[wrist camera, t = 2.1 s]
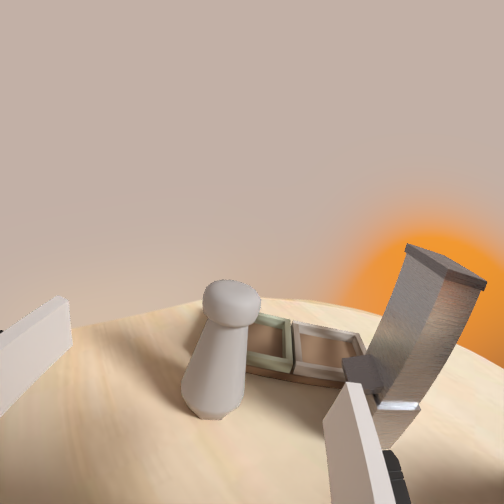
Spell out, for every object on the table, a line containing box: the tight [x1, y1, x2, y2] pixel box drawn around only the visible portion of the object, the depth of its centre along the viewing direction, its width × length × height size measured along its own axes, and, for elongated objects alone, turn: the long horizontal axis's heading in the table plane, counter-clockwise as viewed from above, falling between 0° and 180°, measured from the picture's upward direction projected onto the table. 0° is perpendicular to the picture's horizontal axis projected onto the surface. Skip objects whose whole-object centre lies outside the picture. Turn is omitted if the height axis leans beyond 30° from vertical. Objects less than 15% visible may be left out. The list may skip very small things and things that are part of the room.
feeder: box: [341, 243, 487, 448], centre depth 22 cm, size 8×8×19 cm
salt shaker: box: [181, 280, 261, 420], centre depth 22 cm, size 6×6×13 cm
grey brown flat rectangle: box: [245, 313, 366, 389], centre depth 35 cm, size 22×11×2 cm, turn 84°
